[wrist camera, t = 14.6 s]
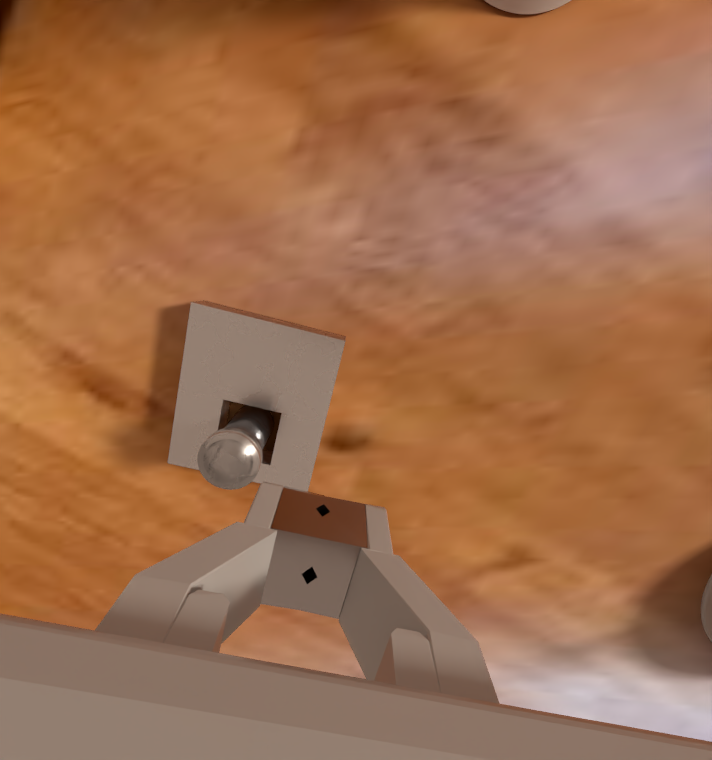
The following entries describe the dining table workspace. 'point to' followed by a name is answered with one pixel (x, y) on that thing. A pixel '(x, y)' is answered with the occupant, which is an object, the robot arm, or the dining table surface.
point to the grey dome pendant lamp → (707, 609)
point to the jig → (255, 386)
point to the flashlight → (236, 449)
